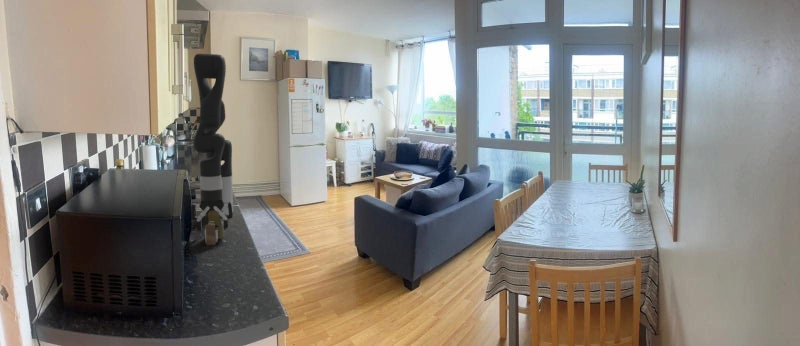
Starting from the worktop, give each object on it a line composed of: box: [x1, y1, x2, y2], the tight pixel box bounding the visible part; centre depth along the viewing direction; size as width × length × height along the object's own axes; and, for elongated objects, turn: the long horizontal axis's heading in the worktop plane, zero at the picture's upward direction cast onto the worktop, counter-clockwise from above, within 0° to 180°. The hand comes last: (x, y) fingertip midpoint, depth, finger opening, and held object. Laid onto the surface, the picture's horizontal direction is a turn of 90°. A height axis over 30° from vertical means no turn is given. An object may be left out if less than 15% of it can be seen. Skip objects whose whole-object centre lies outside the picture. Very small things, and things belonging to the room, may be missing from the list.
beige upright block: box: [205, 221, 217, 246], centre depth 165 cm, size 6×3×8 cm, turn 17°
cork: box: [206, 210, 225, 240], centre depth 172 cm, size 6×6×11 cm
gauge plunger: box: [204, 225, 220, 244], centre depth 167 cm, size 5×4×6 cm
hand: (212, 230), depth 172 cm, fingers open, 8 cm apart
